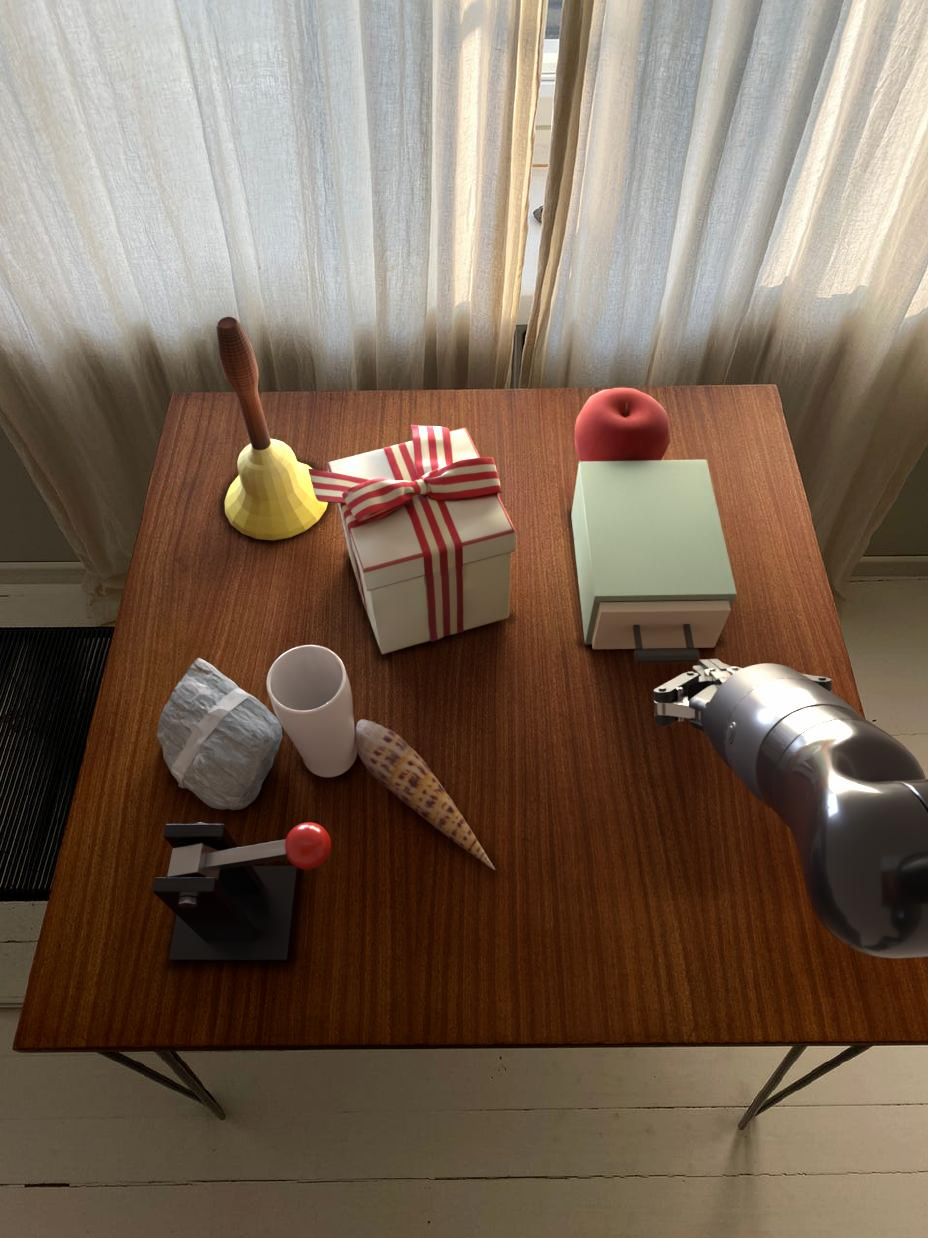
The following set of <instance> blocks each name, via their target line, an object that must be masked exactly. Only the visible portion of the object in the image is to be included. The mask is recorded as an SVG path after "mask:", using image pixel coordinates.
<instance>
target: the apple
mask: <svg viewBox="0 0 928 1238" xmlns="http://www.w3.org/2000/svg"><path fill="white" fill-rule="evenodd" d="M669 420H670V419H669V415H668V413H667V412H666V410H665V409H664V407H663V406H662V404H660V403H659V402H658V401H657V400H656V399H655V398H653V397H652V396H651V395H649V394H647V393H645V392H643V391H640V390H638V389H636V388H630V387H614V388H608V389H607V388H606V389H602V390H599V391H598V392H596V393H594V394H592V395H590V396H589V397H588V399H587V400H586V402H585V404H584V405H583V406H582V408H581V410H580V412H579V414H578V415H577V417H576V419H575V425H574V449H575V452H576V454H577V457H578V459H579V462H593V461H658V460H663V458H664V457H665V453H666V452H667V450H668V447H669V446H670V444H671V426H670V421H669Z"/></svg>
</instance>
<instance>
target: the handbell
mask: <svg viewBox="0 0 928 1238" xmlns="http://www.w3.org/2000/svg"><path fill="white" fill-rule="evenodd" d="M215 329H216V341H217V342H216V344H217V346H216V347H217V355H218V358H219V361H220V366H221V369H222V372H223V377H224V378H225V380H226V382H227V384H228V385H229V386H230V387H231V389H232V391H233V392H234V394H235V396H236V398H237V401H238V405H239V407H240V411H241V414H242V417H243V421H244V426H245V429H246V431H247V435H248V439H249V442H250V443H248V445H246V446H245V447H244V448H243V449H242V451H241V452H240V453H239V456H238V459H237V472H238V476H237V477H235V479H234V480H233V481H232V483H231V484H230V486H229V488H228V490H227V492H226V496H225V499H224V513H225V516H226V518H227V519H228V521H229V523H230V525H231V526H232V527H234V528H235V529H236V530H237V531H238V532H240V533H241V534H242V535H245V536H247V537H250V538H253V539H256V540H267V541H278V540H283V539H289V538H293V537H294V536H296V535H297V536H298V535H299V534H301V533H304V532H307V530H308V529H310V528H311V527H312V526H313V525H315V524H316V523H318V522H319V520H320V519H321V518H322V516H323V515H324V513H325V511H326V510H327V507H328V504H329V502H320V501H318V500H317V499H316V496H315V494H314V490H313V485H312V482H311V478H310V475H309V471H308V469H313V468H312V467H310V465H308V464H305V463H303V462H300V461H298V460H297V457H296V455H295V453H294V451H293V450H292V448H291V447H290V446H289V445H288V444H286V443H285V442H284V441H281V440H278V439H276V438H275V439H274V438H271V436H270V432H269V429H268V425H267V421H266V417H265V414H264V410H263V406H262V403H261V399H260V395H259V389H258V385H259V378H260V375H259V367H258V364H257V363H258V362H257V359H256V356H255V352H254V348H253V344H252V343H251V341H250V339H249V337H248V336H247V333H246V332H245V330H244V327H243V326H242V323H241V322H240V321H239V320H238V318H235V317H233V316H225V317H222V318H221V319H220V320H218V322H217V324H216V326H215Z"/></svg>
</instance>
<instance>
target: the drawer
mask: <svg viewBox="0 0 928 1238" xmlns="http://www.w3.org/2000/svg"><path fill="white" fill-rule="evenodd" d="M731 609H732V608H731ZM731 609H730V604H729V600H717V601H713V600H659V601H603V602H600V604H599V608H598V613H597V618H596V622H595V627H594V632H593V636H592V644H591V645H592V650H631V649H632V650H633V649H634V651H633V661H634V664H636V665H638V664H642V665H643V664H644V665H645V664H698V660H700V652H699V650H698V649H699V648H703V649H704V648H706V649H707V648H715V647H716V645H717V643H718V641H719V640H718V639H719V638H720V636H721V633H722V631H723V629H724V626H725V624H726V621H727V620H728V617H729V615H730V613H731V611H732V610H731Z"/></svg>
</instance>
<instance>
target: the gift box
mask: <svg viewBox="0 0 928 1238" xmlns="http://www.w3.org/2000/svg"><path fill="white" fill-rule="evenodd" d="M410 427H411V430H412V440H409V441H405V442H402V443H398V444H394V445H389V446H386V447H383V448H379V449H374V450H371V451H368V452H367V451H366V452H363V453H360V454H355V455H352V456H347V457H343V458H339V459H336V460H332V461H328V462H326V466H327V471H325V470H319V469H315V468H312V469H308V471H309V475H310V478H311V482H312V485H313V490H314V494H315V496H316V499H317V500H318V501H320V502H328V504H330V503H331V504H337V506H338V508H339V513H340V518H341V522H342V527H343V532H344V537H345V542H346V547H347V551H348V556H349V559H350V560H349V561H350V563H351V566H352V569H353V572H354V576H355V578H356V583H357V587H358V591H359V594H360V598H361V602H362V604H363V606H364V610H365V613H366V614H367V617H368V619H369V622H370V625H371V628H372V631H373V634H374V637H375V640H376V643H377V645H378V648H379V650H380V653H381V655H386V654H390V653H393V652H396V651H400V650H403V649H407V648H410V647H413V646H416V645H420V644H424V643H427V642H433V643H434V642H435V641H438V640H440V639H442V638H444V637H448V636H451V635H456V634H459V633H463V632H464V631H468V630H471V629H476V628H479V627H482V626H487V625H489V624H493V623H496V622H500V621H502V620H506V619H508V618H509V616H510V591H511V590H510V589H511V562H512V561H511V560H512V559H511V558H512V553H513V552H516V551H515V550H516V541H517V540H516V539H517V537H516V534H517V533H516V529H515V527H514V524H513V523H512V520H511V519H510V517H509V514H508V512H507V510H506V508H505V506H504V504H503V502H502V500H501V498H500V495H499V494H502V493H503V490H502V487H501V482H500V478H499V474H498V470H497V466H496V463H495V459H494V458H493V457H491V456H490V457H489V456H483V457H481V456H480V454H479V452H478V450H477V448H476V446H475V444H474V442H473V439H472V438H471V435H470V434H469V431H468V429H467V427H462V428H457V429H453V430H449V427H445V426H439V425H438V426H437V425H436V426H435V425H417V424H410Z"/></svg>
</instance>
